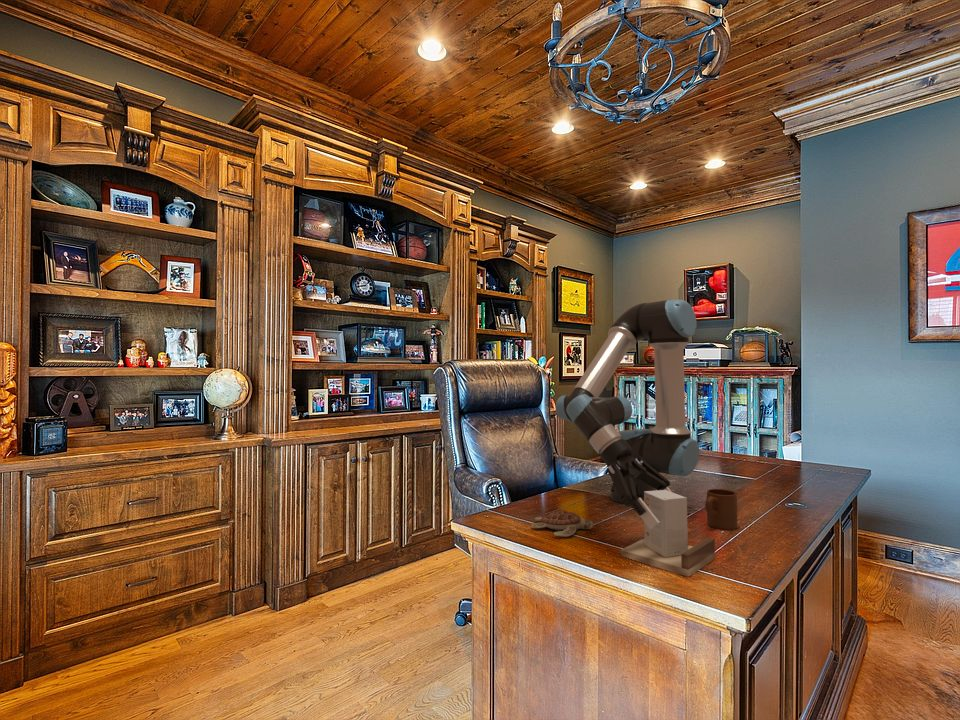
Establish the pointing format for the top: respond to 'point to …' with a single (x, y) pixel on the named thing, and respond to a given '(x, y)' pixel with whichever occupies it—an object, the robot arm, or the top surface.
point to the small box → (667, 523)
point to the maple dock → (674, 557)
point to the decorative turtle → (563, 523)
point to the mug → (721, 509)
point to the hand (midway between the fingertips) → (669, 519)
